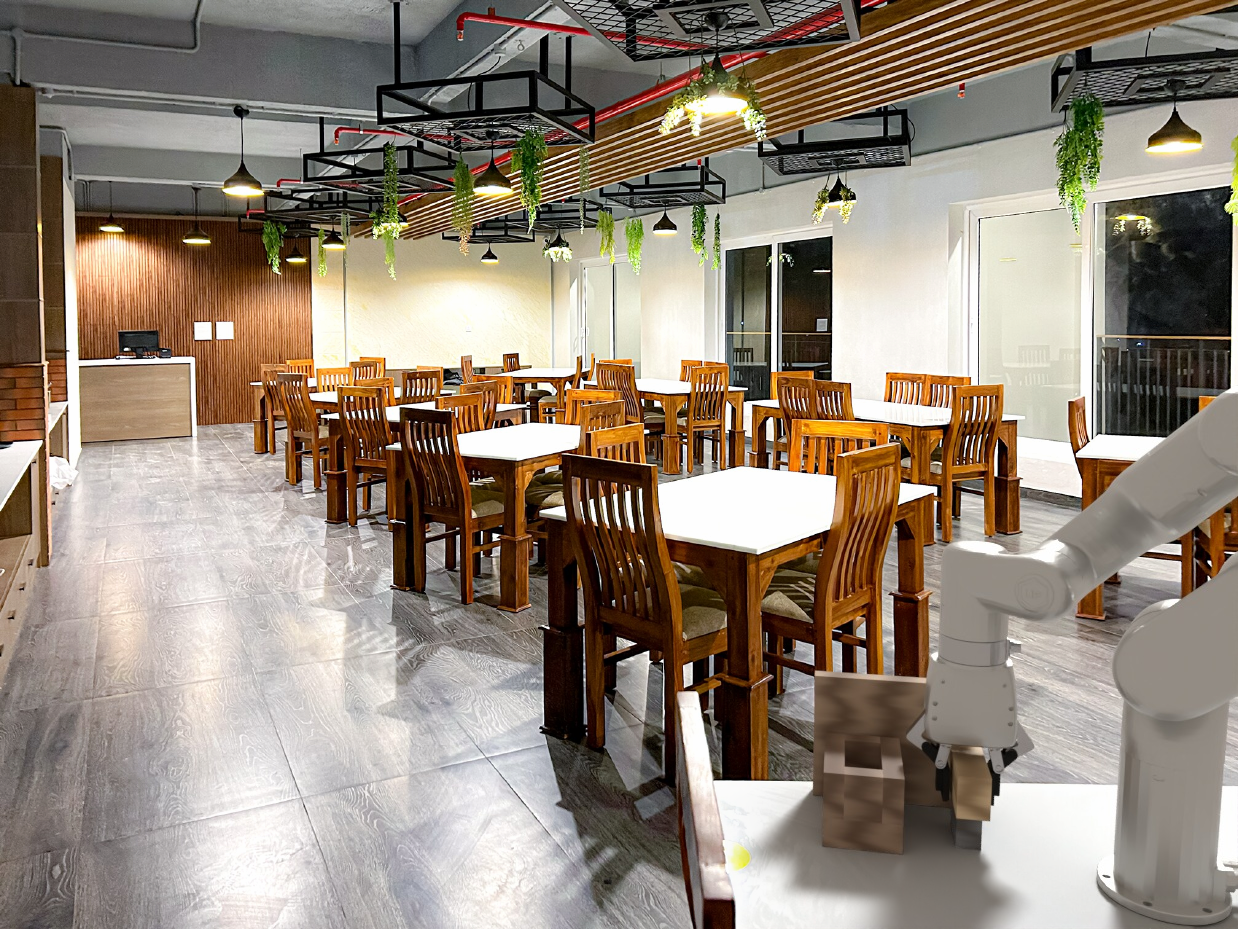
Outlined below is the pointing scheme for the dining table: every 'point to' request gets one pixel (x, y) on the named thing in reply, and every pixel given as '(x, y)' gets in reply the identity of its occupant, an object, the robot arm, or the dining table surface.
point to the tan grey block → (969, 795)
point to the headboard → (869, 758)
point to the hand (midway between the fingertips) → (966, 797)
